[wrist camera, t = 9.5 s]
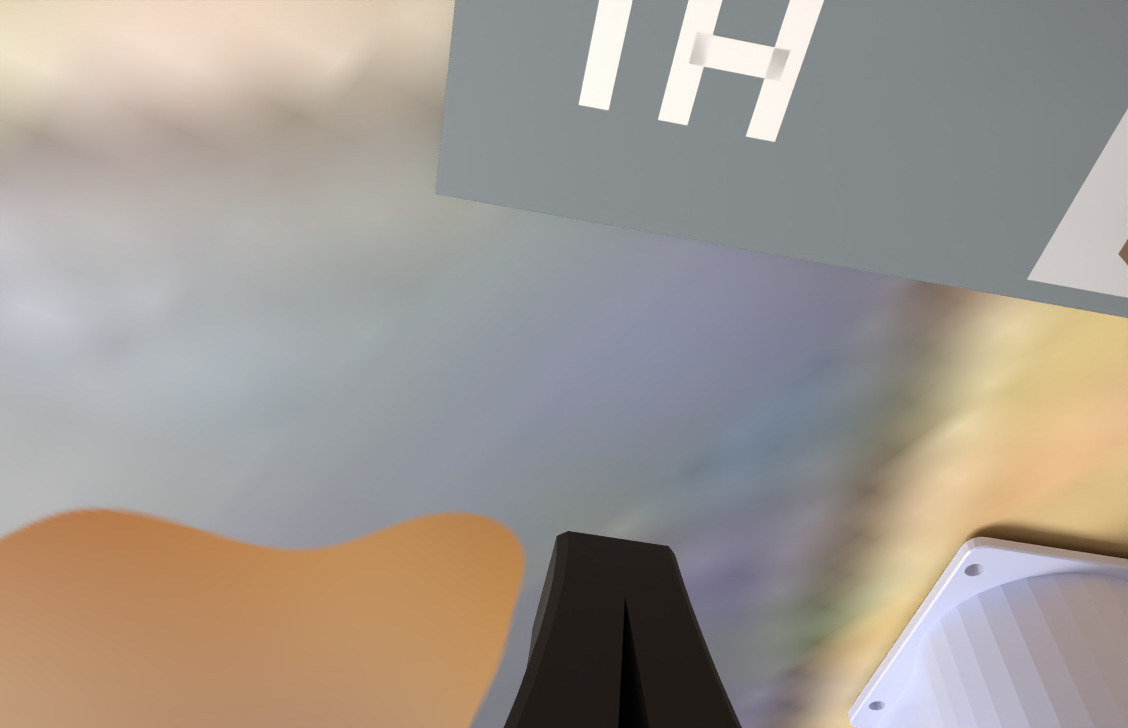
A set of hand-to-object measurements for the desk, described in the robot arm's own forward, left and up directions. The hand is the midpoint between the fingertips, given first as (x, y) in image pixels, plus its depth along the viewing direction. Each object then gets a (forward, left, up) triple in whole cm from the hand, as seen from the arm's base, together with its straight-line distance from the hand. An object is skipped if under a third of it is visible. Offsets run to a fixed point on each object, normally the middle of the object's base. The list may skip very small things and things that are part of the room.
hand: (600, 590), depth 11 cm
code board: (+4, -7, -10) cm, 13 cm away
